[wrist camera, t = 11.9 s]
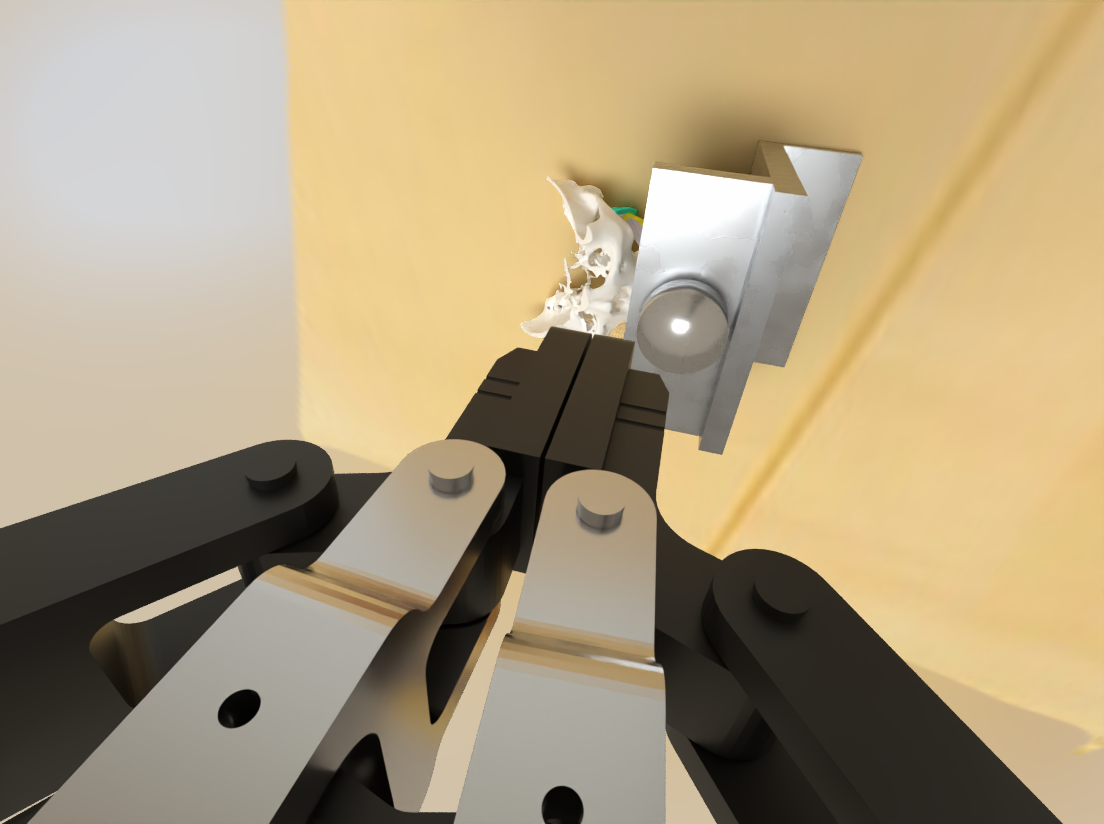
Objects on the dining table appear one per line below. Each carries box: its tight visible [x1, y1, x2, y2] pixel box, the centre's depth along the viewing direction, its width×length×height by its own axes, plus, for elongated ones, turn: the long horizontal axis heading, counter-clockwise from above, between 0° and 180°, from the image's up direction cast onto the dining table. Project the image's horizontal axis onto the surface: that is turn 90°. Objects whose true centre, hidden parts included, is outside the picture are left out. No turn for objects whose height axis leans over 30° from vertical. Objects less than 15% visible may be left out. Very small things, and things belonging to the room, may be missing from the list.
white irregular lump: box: [521, 177, 644, 338], centre depth 43 cm, size 12×9×10 cm
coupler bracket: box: [624, 141, 863, 455], centre depth 37 cm, size 16×12×14 cm
